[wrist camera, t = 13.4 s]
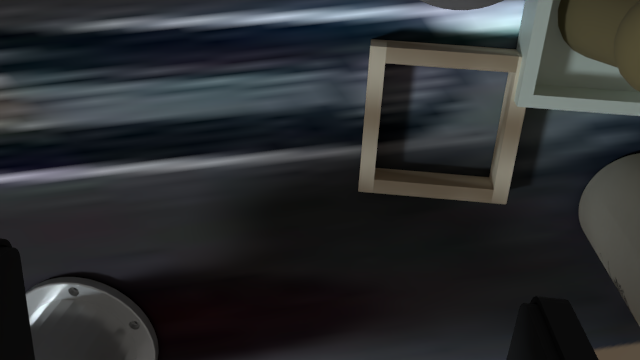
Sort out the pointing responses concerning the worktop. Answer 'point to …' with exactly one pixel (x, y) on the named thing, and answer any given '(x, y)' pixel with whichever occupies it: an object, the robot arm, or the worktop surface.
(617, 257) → the travel mug
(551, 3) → the tray
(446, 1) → the grey pedestal stand
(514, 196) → the worktop surface
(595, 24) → the brown rounded lump
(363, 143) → the socket
